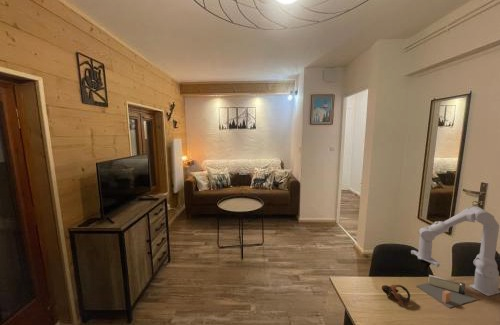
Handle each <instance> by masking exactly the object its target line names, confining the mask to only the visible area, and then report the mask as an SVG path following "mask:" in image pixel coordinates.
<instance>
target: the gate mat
mask: <svg viewBox="0 0 500 325" xmlns="http://www.w3.org/2000/svg"><path fill="white" fill-rule="evenodd" d="M416 288H418V289H420V290H421V291H423V292H424V293H426V294H427V295H428V296H430V297H431V298H433V299H435V300H436V301H437V302H439V303H441V304H442V305H443V306H445V307H447V308H448V309H451V308H454V307H458V306H461V305H465V304H469V303H471V302H476V301H477V298H475V297H473V296H471V295H470V294H468V293H466V292H465V294H464V295H462V294H460V293H459V292H456V291H452V290H449V289H445V288H442V287H438V286H435V285H431V284H429V282H426V283H421V284H418V285H416ZM446 290H448V291H449V292H451V296H450V302H448V303H445V302H443V301H442V293H443V291H446Z"/></svg>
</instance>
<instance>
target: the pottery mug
mask: <svg viewBox="0 0 500 325" xmlns="http://www.w3.org/2000/svg"><path fill="white" fill-rule="evenodd" d="M397 288H401V289H402V290H403V291H405V292H406V294H407V297H405V298H404V297H402V298H401V296H400V295H399V294H398V292H400V291H399V289H397ZM381 290H382V291H383V293H385V295H386V296H387V297H388V296H389V295H390V293H392V294H393V296H394V298H396V300H398V301H397V302H396V305H399V306H402V305H406V304H408V303H409V302H410V300H411V299H410V298H411V293H410V292H409V290H408V288H406V287H405V286H403V285H402V284H392V285H382V286H381Z"/></svg>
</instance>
